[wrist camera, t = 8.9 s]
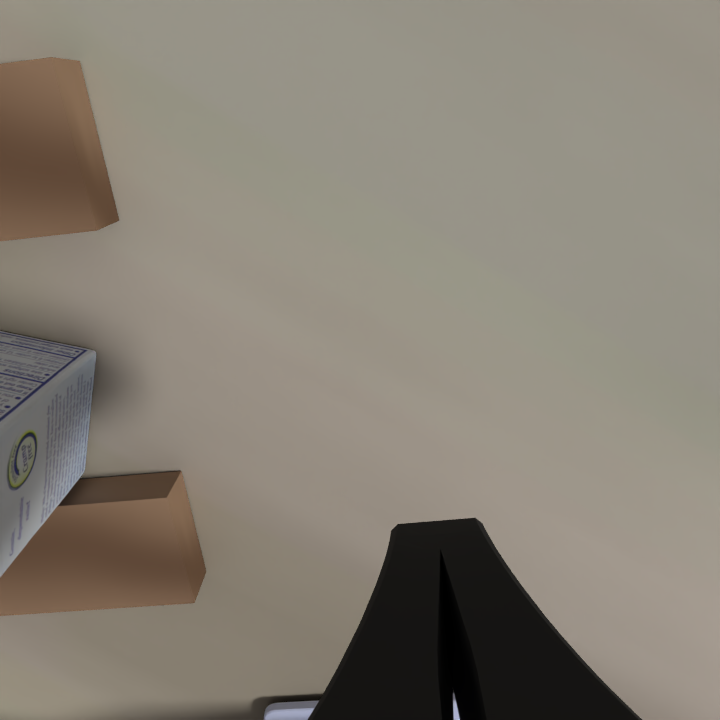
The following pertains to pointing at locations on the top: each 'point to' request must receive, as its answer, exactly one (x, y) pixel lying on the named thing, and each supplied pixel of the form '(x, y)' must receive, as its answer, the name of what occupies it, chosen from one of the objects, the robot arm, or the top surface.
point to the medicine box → (39, 432)
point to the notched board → (95, 495)
